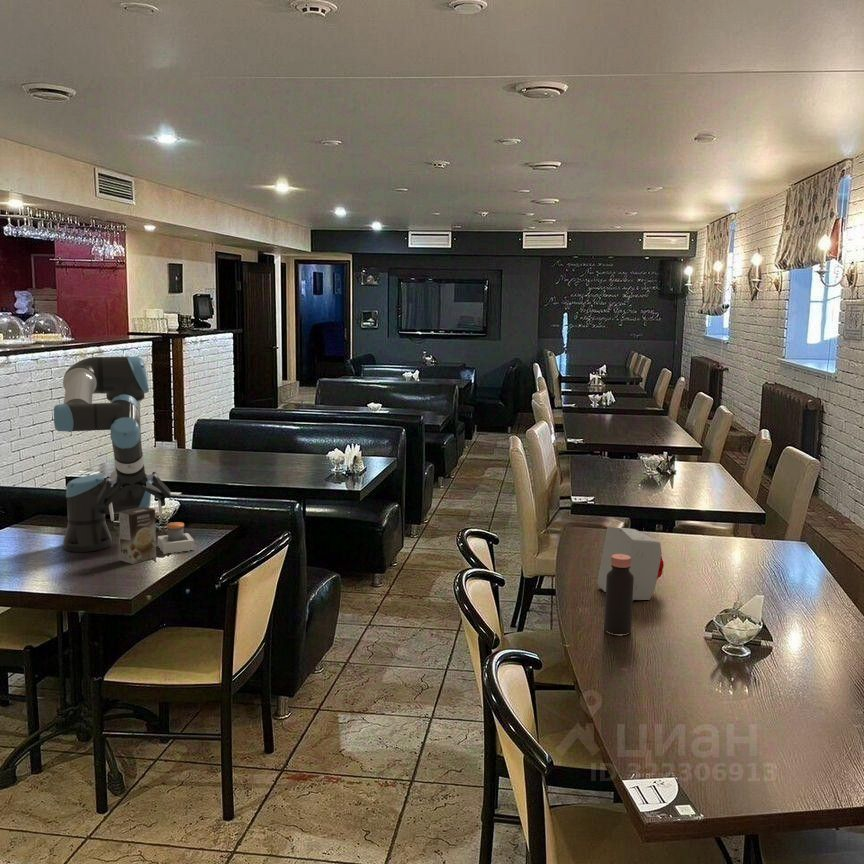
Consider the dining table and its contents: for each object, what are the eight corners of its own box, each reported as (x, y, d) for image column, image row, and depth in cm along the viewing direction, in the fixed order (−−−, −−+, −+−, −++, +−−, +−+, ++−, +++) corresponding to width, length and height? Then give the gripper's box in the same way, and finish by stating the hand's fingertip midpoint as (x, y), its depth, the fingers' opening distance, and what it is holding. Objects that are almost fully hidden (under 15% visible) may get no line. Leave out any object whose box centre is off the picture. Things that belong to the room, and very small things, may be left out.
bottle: (605, 625, 225) (608, 551, 222) (631, 628, 223) (635, 554, 220) (602, 634, 219) (606, 559, 215) (629, 638, 217) (634, 561, 214)
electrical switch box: (666, 607, 245) (679, 539, 243) (620, 604, 240) (633, 535, 238) (639, 590, 259) (652, 526, 257) (596, 587, 254) (608, 521, 252)
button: (165, 538, 287) (165, 523, 286) (182, 536, 290) (182, 521, 289) (168, 542, 282) (168, 527, 281) (186, 541, 285) (185, 525, 284)
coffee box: (132, 564, 269) (130, 514, 266) (120, 560, 272) (118, 511, 270) (157, 557, 276) (155, 509, 274) (144, 554, 280) (142, 506, 277)
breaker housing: (158, 546, 288) (157, 536, 288) (188, 542, 293) (188, 532, 292) (163, 554, 280) (163, 544, 279) (194, 550, 284) (194, 540, 284)
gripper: (82, 479, 234) (91, 529, 249) (177, 470, 242) (181, 519, 256) (82, 460, 239) (91, 510, 254) (175, 451, 247) (179, 500, 261)
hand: (136, 514), depth 255 cm, fingers open, 13 cm apart
